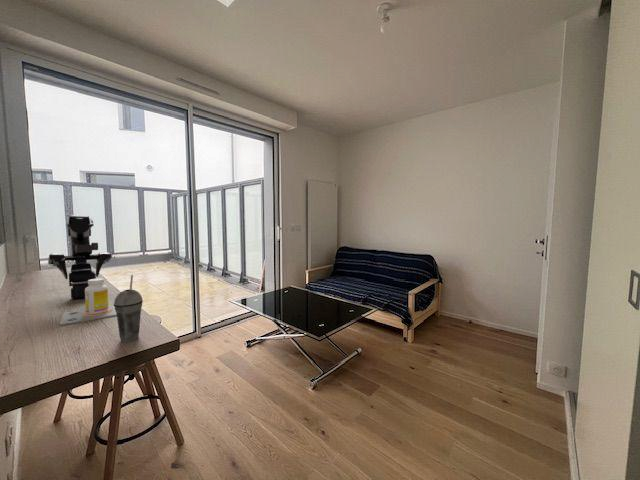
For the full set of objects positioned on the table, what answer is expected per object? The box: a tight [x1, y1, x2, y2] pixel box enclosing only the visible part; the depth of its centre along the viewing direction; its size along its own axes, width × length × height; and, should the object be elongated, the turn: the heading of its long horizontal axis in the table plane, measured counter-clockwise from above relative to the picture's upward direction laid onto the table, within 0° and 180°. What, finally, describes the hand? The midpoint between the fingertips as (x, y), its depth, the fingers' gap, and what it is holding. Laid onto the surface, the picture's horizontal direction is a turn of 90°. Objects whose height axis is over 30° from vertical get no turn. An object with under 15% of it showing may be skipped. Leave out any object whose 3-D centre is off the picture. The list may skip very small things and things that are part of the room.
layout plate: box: [59, 304, 117, 327], centre depth 98 cm, size 16×14×1 cm
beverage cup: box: [113, 274, 144, 343], centre depth 78 cm, size 7×7×20 cm
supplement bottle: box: [84, 277, 109, 314], centre depth 98 cm, size 7×7×13 cm
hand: (82, 277), depth 104 cm, fingers open, 9 cm apart
